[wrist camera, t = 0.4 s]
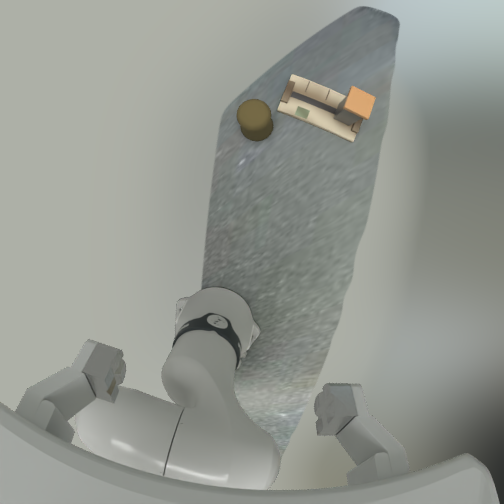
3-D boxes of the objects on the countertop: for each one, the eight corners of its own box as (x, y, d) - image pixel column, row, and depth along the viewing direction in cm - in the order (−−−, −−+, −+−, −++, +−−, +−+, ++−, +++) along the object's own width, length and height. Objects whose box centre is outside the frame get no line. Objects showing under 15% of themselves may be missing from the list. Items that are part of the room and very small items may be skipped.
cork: (236, 136, 48) (227, 126, 37) (245, 107, 46) (239, 90, 35) (268, 145, 48) (267, 136, 37) (277, 115, 46) (279, 99, 36)
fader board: (351, 142, 46) (354, 141, 44) (277, 111, 46) (277, 108, 44) (364, 107, 44) (367, 104, 42) (291, 76, 44) (292, 72, 42)
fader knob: (350, 128, 44) (368, 118, 35) (330, 119, 44) (344, 107, 34) (356, 110, 43) (375, 97, 34) (337, 101, 43) (352, 85, 33)
